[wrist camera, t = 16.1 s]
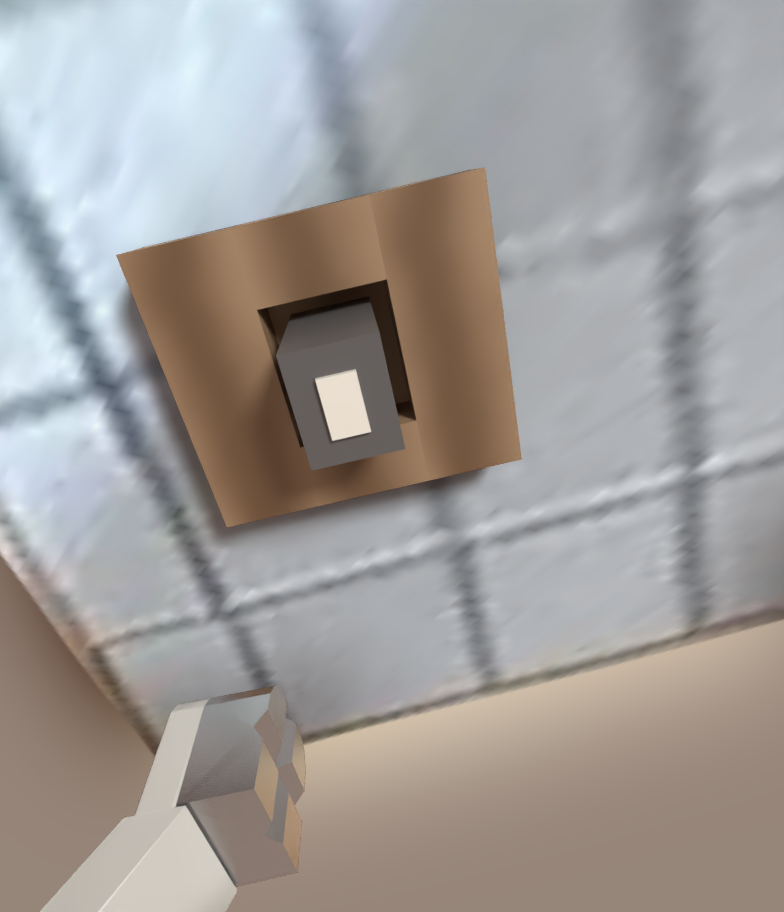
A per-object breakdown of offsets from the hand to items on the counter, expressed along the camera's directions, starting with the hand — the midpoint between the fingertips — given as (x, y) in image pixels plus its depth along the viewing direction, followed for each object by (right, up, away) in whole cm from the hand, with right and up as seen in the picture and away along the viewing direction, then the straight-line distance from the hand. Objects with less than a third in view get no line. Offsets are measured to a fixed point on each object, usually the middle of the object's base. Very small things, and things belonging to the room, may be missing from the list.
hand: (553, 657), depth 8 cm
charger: (-5, +8, +21) cm, 23 cm away
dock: (-5, +9, +22) cm, 24 cm away
